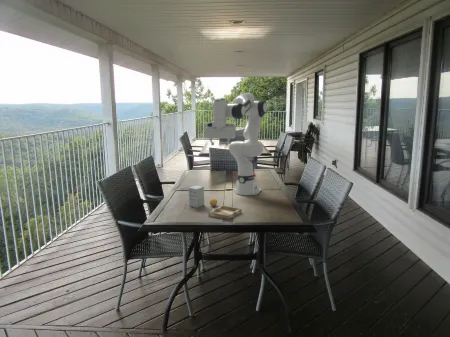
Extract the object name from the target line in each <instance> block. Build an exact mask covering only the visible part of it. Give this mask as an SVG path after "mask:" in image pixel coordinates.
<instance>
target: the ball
mask: <svg viewBox="0 0 450 337" xmlns="http://www.w3.org/2000/svg"><path fill="white" fill-rule="evenodd" d="M209 204H210V206H211V207H215V206H216V205H217V204H218V200H217V199H216V198H214V197H212V198H210V199H209Z"/></svg>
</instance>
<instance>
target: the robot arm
mask: <svg viewBox="0 0 450 337" xmlns="http://www.w3.org/2000/svg"><path fill="white" fill-rule="evenodd" d="M266 102H267V101H265V100H256V98H255V96H254V94H253V93H251V92H244V93H241V94H238V95H237V96H236V97H235V99H234V103H228V102H227V101H226V98H224V97H222V98H215V99H214V100H213V102H212V103H213V104H212V114H213V116H212V121H209V122H207V123H205V127H204V132H203V133H204V134H203V137H204V139H209V141H210V144H211V145H210V146H215V142H214V141H213V139H226V141H227V142H225V146H229V147H228V150H229V153H230V154H231V156H233V157H234V159H235V161H236V163H237V175H236V178H237V180H236V181H235V182H236V184H235V189H234V193H235V194H237V195H240V196H256V195H258V194H259V193H260V192H261V191H262V188H260V187H259V182H257V180H255V177H256V173H254V163H252V162H251V161H250V160H248V158H247V157H252V158H254V157H260V156H261V155H262V153H263V150H264V148H263V144H262V143H261V142H259V140H258V139H259V133H260V130H261V126H262V118H264V116H265V115H266V113H267V112H268V104H267V103H266ZM246 116H248V117H249V118H248V120H247V122H246V123H245V124H246V125H245V127H244V129H243V134H242V135H243V137H244V139H245V140H246V141H245V140H235V141H231V139H232V140H233V139H235V138H236V129H237V127H236V125H235V124H234V123H227V121H228V120H227V119H234V120H235V119H236V120H241V119H243V118H244V117H246ZM230 141H231V142H230ZM229 142H230V144H229Z"/></svg>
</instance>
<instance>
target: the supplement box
mask: <svg viewBox="0 0 450 337" xmlns="http://www.w3.org/2000/svg"><path fill="white" fill-rule="evenodd" d="M188 202H189V204H188V205H189V207H192V206H193V207H194V208H200V207H203V206H205V187H204V186H201V185H193V186H190V187H188Z"/></svg>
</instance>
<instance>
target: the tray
mask: <svg viewBox="0 0 450 337" xmlns="http://www.w3.org/2000/svg"><path fill="white" fill-rule="evenodd" d="M242 209H243V208H240V207H234V206H230V205H229V206H227V205H224V204H223V205H220V206H218V207H215V208H214V209H213V210H212V209H211V210H210V211H208V214H207V215H208V217H212V218H217V219H222V220H227V221H229V220H231V219H233V218H234V217H237V216H238V215H239V214H242V211H243V210H242Z"/></svg>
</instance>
